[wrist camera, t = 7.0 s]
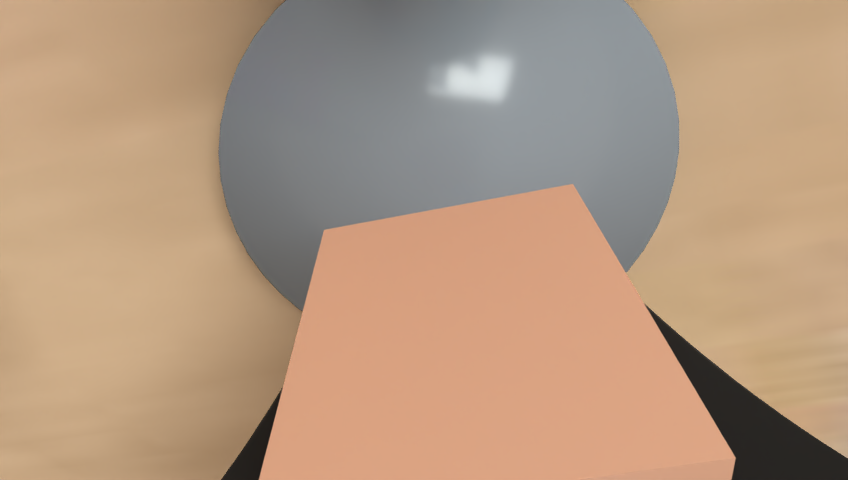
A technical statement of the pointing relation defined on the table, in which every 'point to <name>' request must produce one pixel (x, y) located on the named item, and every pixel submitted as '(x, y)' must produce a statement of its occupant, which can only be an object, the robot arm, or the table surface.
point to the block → (485, 356)
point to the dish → (442, 119)
